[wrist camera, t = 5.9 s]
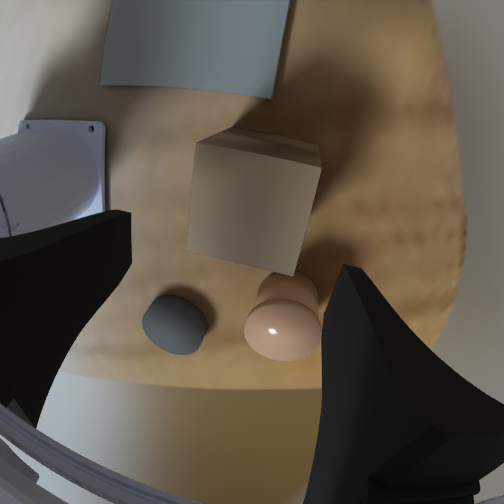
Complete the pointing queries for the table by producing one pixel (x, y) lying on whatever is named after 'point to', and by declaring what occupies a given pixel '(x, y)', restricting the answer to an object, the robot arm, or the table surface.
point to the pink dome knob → (284, 318)
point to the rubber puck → (174, 324)
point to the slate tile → (196, 44)
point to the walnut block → (252, 198)
